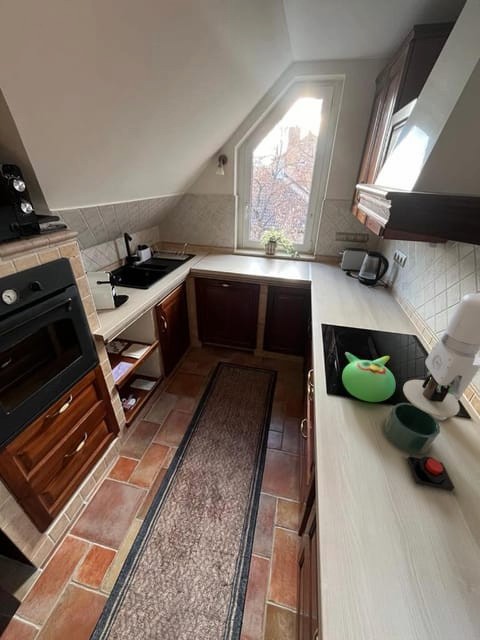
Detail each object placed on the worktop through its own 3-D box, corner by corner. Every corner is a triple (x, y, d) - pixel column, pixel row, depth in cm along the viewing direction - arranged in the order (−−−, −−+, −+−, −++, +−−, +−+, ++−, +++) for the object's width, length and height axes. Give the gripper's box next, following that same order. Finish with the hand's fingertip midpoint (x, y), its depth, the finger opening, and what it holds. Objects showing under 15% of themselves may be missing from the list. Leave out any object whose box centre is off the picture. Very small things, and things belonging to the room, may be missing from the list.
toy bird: (340, 404, 93) (350, 374, 86) (336, 373, 107) (344, 345, 100) (393, 414, 90) (408, 384, 82) (382, 381, 104) (394, 353, 96)
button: (436, 463, 72) (439, 459, 71) (442, 476, 69) (445, 472, 68) (422, 460, 73) (425, 457, 72) (428, 473, 70) (430, 470, 69)
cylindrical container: (424, 400, 96) (454, 347, 83) (446, 410, 92) (482, 356, 79) (422, 413, 91) (454, 359, 78) (446, 423, 87) (484, 368, 74)
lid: (443, 386, 78) (453, 368, 75) (468, 422, 67) (481, 404, 63) (396, 379, 81) (403, 361, 77) (412, 414, 69) (422, 395, 65)
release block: (439, 465, 75) (444, 458, 73) (451, 491, 69) (457, 484, 67) (406, 459, 76) (410, 452, 74) (415, 483, 70) (420, 476, 68)
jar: (418, 423, 87) (429, 406, 83) (435, 458, 76) (448, 441, 72) (380, 416, 89) (387, 399, 85) (390, 449, 78) (400, 432, 74)
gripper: (429, 323, 71) (406, 372, 80) (461, 361, 57) (429, 415, 66) (459, 326, 70) (433, 376, 79) (500, 366, 56) (462, 420, 65)
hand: (431, 393), depth 73 cm, fingers closed on lid, 4 cm apart
